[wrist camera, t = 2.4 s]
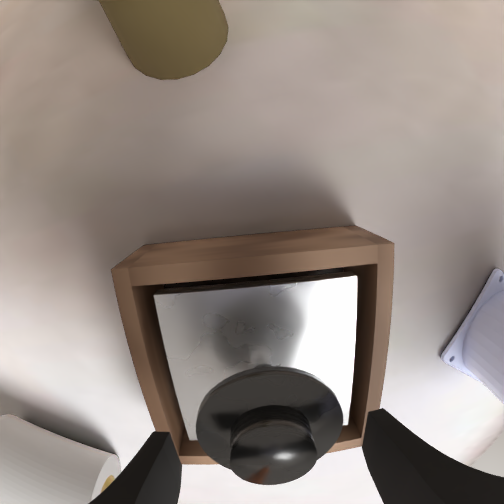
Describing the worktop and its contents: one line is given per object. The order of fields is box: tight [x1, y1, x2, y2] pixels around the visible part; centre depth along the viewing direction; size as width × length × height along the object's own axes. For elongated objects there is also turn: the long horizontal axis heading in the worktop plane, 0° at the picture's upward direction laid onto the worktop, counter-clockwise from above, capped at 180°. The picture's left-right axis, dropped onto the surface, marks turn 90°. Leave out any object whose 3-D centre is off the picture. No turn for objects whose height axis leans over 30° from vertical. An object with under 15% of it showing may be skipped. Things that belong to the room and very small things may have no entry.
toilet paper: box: [0, 414, 121, 504], centre depth 17 cm, size 10×10×10 cm
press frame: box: [111, 226, 394, 464], centre depth 17 cm, size 12×12×5 cm
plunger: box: [154, 271, 357, 485], centre depth 12 cm, size 9×9×6 cm
